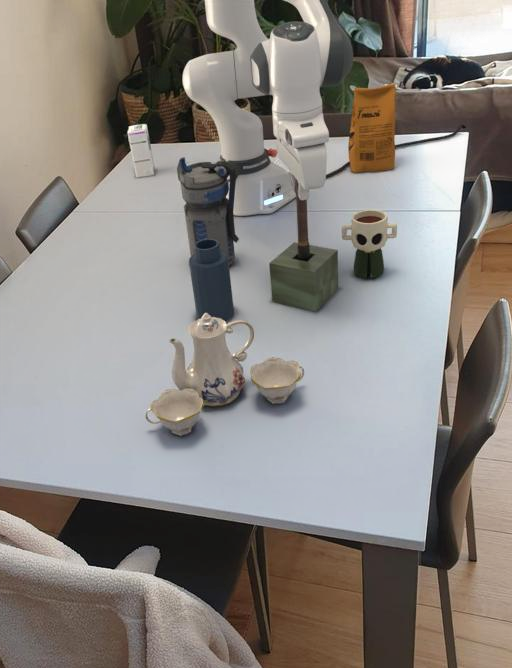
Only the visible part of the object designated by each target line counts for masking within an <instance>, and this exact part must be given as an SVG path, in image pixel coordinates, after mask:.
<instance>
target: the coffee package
mask: <svg viewBox="0 0 512 668" xmlns="http://www.w3.org/2000/svg"><path fill="white" fill-rule="evenodd" d="M396 92H397V87H396V83H389V84H386V85H383V86H379V87H376V88H371V87H370V88H367V87H354V90H353V104H352V109H351V119H350V130H349V134H348V149H347V151H348V160H349V161H350V165H349V166H350V167H349V169H350V171H351V172H352V173H354V174H359V173H364V172H372V173H378V172H383V171H387V170H393V169H394V167H395V162H396V148H395V145H396V142H395V141H396V140H395V135H396V132H395V131H396V102H395V97H396ZM349 161H348V162H349Z"/></svg>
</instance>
